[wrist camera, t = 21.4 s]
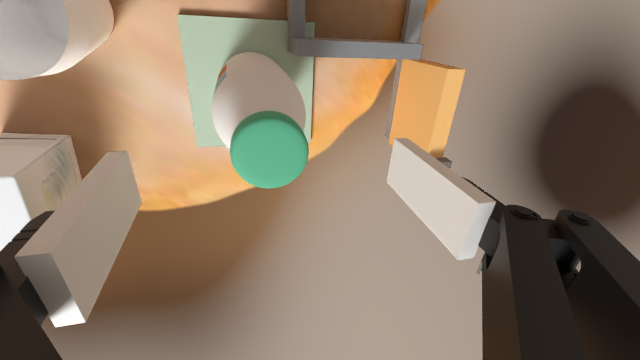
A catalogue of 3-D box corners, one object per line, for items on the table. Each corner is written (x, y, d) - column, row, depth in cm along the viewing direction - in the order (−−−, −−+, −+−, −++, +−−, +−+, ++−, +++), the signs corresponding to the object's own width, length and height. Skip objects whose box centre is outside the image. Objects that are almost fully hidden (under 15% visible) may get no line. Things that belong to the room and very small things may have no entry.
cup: (141, -10, 28) (88, -26, 18) (114, 77, 31) (55, 106, 21) (20, -79, 24) (-134, -149, 14) (1, 28, 27) (-139, 34, 17)
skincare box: (95, 213, 37) (51, 275, 28) (31, 215, 35) (-37, 282, 26) (74, 133, 32) (14, 177, 24) (0, 131, 31) (-96, 177, 22)
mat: (177, 14, 30) (176, 14, 29) (313, 22, 33) (314, 22, 33) (197, 145, 36) (197, 147, 36) (309, 140, 40) (310, 142, 39)
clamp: (286, -116, 27) (298, -146, 22) (438, -90, 31) (478, -111, 26) (287, 139, 39) (295, 158, 34) (397, 135, 43) (420, 151, 38)
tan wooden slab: (399, 58, 36) (452, 70, 27) (420, 58, 37) (477, 71, 28) (385, 143, 41) (426, 176, 33) (404, 142, 42) (448, 174, 33)
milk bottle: (241, 35, 31) (249, 55, 14) (299, 79, 35) (360, 137, 18) (204, 95, 33) (173, 176, 16) (262, 131, 37) (287, 229, 20)
